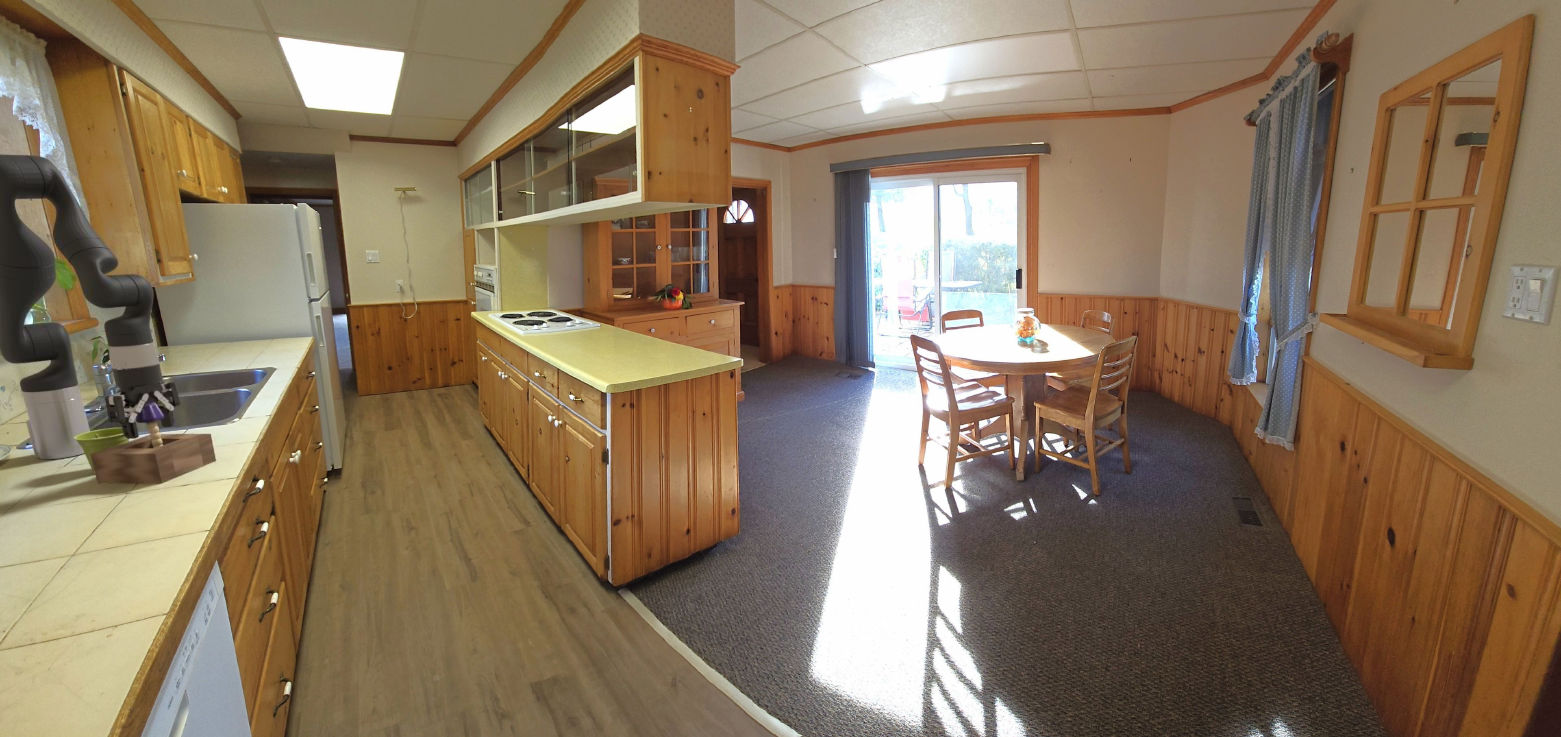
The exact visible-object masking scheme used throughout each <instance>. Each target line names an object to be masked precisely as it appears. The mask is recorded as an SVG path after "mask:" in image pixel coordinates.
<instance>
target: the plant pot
mask: <svg viewBox="0 0 1561 737" xmlns="http://www.w3.org/2000/svg"><path fill="white" fill-rule="evenodd" d="M74 440H76V441H77V442H78V444H79V445H80V446H81V447H82V449H83V451H84V453H83V454H84V456H85V458H86V460H87V461H88V463H89V466H90V468H91V471H92V472H95V471H94V467H93V463H92V459H91V454H92V453H95V452H98V451H102V450H105V449H108V448H111V447H114V446H117V445H120V444H123V443H126V442H129V441H130V439H127V438H126V437H125V436H124V434H123V430H122V427H111V428H102V429H97V430H96V429H95V430H90V432H86V433H82V434H79V435H77V436H75V437H74Z"/></svg>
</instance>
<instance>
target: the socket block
mask: <svg viewBox="0 0 1561 737" xmlns="http://www.w3.org/2000/svg"><path fill="white" fill-rule="evenodd" d="M160 435H161V437H160V438H161V439H162V442H163V443H162V445H163V446H160V447H157V448H153V445H152V442H151V441H152V439H151V438H150V434H147V435H145V436H142V437H138V438H135V439H132V440H129V442H126V443H123V444H120V445H117V446H114V447H111V448H108V449H105V450H102V451H98V452H95V453H92V454H91V459H92V463H93V467H94V471H93V472H94V474H95V478H96V482H97V484H98V483H127V484H163V483H166V482H168V481H171V480H173V479H175V478H178V477H181V476H182V474H183V475H185V473H186V474H188V473H191V472H193V471H195V470H197V469H200V468H202V467H205V466H207V465H210V464H212V463H215V462H216V461H217V458H216V453H215V448H214V443H213V438H212V433H160Z"/></svg>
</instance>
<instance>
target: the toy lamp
mask: <svg viewBox="0 0 1561 737" xmlns="http://www.w3.org/2000/svg"><path fill="white" fill-rule="evenodd" d="M163 418H164V414H163V413H162V411H161V410H160V408H159V407H158V406H157V404H156V403H155V402H153V403H149V404H146V405H145V407H144V409H142V410H141V412H140V413H138V414H137V416H136V418H135V422H136V423H137V424H146V426H147V427H148V428H147V431H148V433H149V435H150V438H151V439H152V441H151V442H152V445H153V448H157V447H160V446H163V445H162V443H163V442H162V439H161V438H160V437H161V435H160V434H161V432H159V431H160V428H159V426H158V421H161V419H163Z"/></svg>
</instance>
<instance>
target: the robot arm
mask: <svg viewBox="0 0 1561 737" xmlns="http://www.w3.org/2000/svg"><path fill="white" fill-rule="evenodd" d="M37 199H38V200H39V199H40V200H41V199H47V200H48V201H49V202H50V203H51V204H52V205H53V206H54V208H55V214H56V215H55V221H54V224H53V228H52V238H53V242H54V245H55V247H56V248H57V249H58V251H59V252H60V253H61V255H62V256H63V257H64V258H65V259H66V260H67V261H68V263H69V265H71V266H72V267H73V269H74V271H75V275H76V277H77V279H78V282H79V284H80V287H81V290H82V294H83V296H84V298H85V300H86V301H88V303H90V304H92V305H93V306H95V307H98V308H101V309H115V308H125V309H124V311H123V313H122V314H121V315H120V316H117V317H114V318H111V319H108V320H106V321H105V322H104V326H103V328H104V332H105V336H106V341H107V345H108V357H109V362H110V366H111V369H112V374H113V379H114V382H115V386H116V387H118V388H119V389H120V392H119V394H118V395H116V394H115V395H106V396H105V398H104V400H105V406H106V413H107V418H108V422H109V423H117V424H120V425H121V428H122V430H123V434H124V436H125V437H126V438H127V439H129V440H131V439H132V440H135V439H138V438H140V437H139V436H140V435H139V431H138V426H137V422H136V416H137V414H138V413H140V412H141V410H142V409H144V407H145V405H146V404H149V403H153V402H155V403H156V404H157V406H158V407H159V408H160V410H161V411H162V413H163V414H164V418H163V419H161V420H160V422H161V426H162V427H164V428H171V427H174V426H175V421H176V420H175V416H174V412H173V411H174V409H175V408H176V407H179V406H180V405H181V401H180V396H179V393H178V389H177V386H176V383H175V382H173V381H171V382H169V381H165V382H163V373H162V369H161V364H160V360H159V356H158V352H157V348H156V346H155V343H154V340H153V335H152V331H151V330H152V329H151V316H152V309H153V304H154V289H153V285H152V284H151V283H150V281H149V280H148V279H147V278H145V277H144V276H142V275H139V274H134V273H133V274H112V275H106V274H108V273H111V272H113V271H114V270H116V269H117V268H118V267H119V260H118V257H117V256H116V255H115V253H114V252H113V251H112V250H111V249H110V248H109V247H108V245H107V243H105V242H104V241H103V239H102V238H101V237H100V235H99V234H98V233H97V232H96V230H95V229H94V227H93V226H92V225H91V223H90V221H89V220H88V218H87V216H86V214H85V212H84V210H83V208H82V207H81V206H80V204H79V202H78V200H77V198H76V196H75V195H74V192H73V191H72V189H71V188H70V186H69V184H68V182H67V181H66V179H65V177H64V176H63V174H62V173H61V171H60V170H59V169H58V168H57V166H56V165H55V164H54V163H53V162H52V161H51V160H50V159H48V158H46V157H44V156H41V155H32V154H31V155H29V154H4V153H3V154H0V353H1V356H2V357H3V359H4V360H5V361H7V362H8V363H11V364H17V365H18V364H19V365H20V364H30V363H38V362H47V361H50V363H49V364H48V366H46V367H45V368H44V369H42V370H40V371H38V372H36V373H33V374H31V375H28V376H26V377H23V378H22V379H20V381H19V386H20V389H21V393H22V397H23V401H24V405H25V408H26V411H27V412H26V413H27V416H28V420H26V422H25V423H26V427H27V432H28V434H29V439H30V443H31V445H32V449H33V450H32V451H33V453H34V456H35V458H39V460H40V459H41V460H56V459H63V458H70V457H74V456H79V455H83V454H85V453H84V451H83V449H82V447H81V446H80V445H79V444H78V442H77V441H76V440H74V437H75V436H77V435H79V434H82V433H86V432H90V431H91V430H90V426H89V421H88V418H87V413H86V410H85V406H84V400H83V396H82V393H81V391H80V386H79V382H78V378H77V371H76V366H75V362H74V357H73V351H72V350H73V349H72V344H71V338H70V335H69V333H68V332H69V331H67V329H66V327H65V326H64V325H63V324H62V323H60V322H53V321H52V322H40V323H26V322H25V321H26V318H27V316H28V314H29V312H30V310H31V309H32V308H33V307H34V306H35V305H36V304H37V302H38V301H40V300H41V299H42V298H43V297H44V296H45V295H46V294H47V293H48V292H49V291H50V289H51V288H52V287H53V285H54V283H55V282H56V279H57V270H56V269H57V268H56V257H55V254H54V251H53V249H52V248H51V247H50V246H49V245H48V243H47V242H45V241H44V240H43V238H41V237H40V236H39V235H37V234H36V233H35V232H34V231H33V230H32V229H31V228H29V227H28V226H27V225H26V224H25V223H24V222H23V220H22V219H21V218H20V217H19V214H18V211H17V209H16V200H37ZM25 323H26V324H25Z"/></svg>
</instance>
